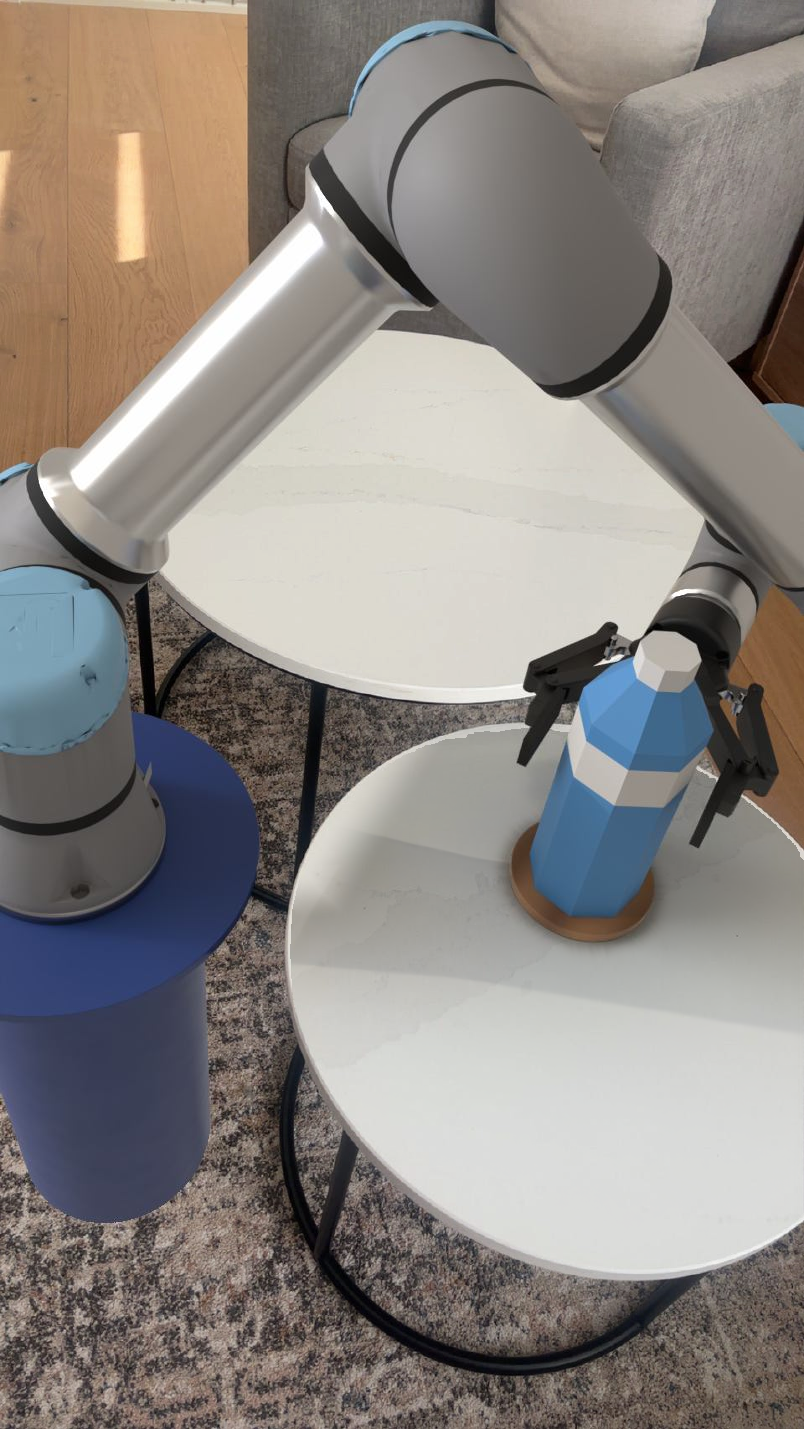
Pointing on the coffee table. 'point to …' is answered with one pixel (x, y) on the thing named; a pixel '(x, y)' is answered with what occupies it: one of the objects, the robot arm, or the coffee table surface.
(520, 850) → the coaster
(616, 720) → the water bottle
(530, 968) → the coffee table surface
